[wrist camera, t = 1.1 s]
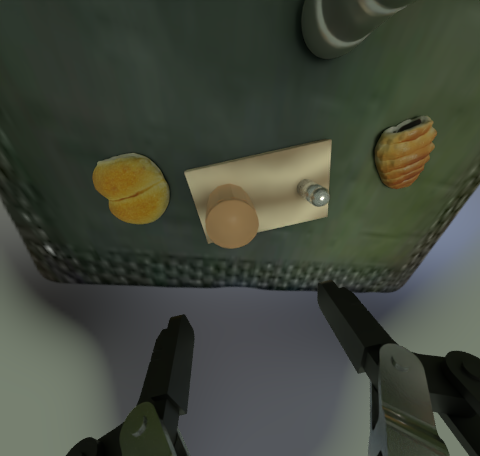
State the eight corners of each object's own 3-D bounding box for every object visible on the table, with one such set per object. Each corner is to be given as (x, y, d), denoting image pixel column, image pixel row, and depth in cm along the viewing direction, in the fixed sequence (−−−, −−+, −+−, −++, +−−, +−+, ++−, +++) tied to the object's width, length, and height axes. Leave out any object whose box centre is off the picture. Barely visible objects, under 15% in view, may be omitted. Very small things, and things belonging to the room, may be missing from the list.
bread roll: (127, 224, 27) (114, 238, 23) (90, 162, 23) (66, 168, 19) (181, 210, 27) (176, 223, 23) (154, 146, 22) (143, 149, 19)
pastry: (415, 175, 29) (441, 181, 25) (373, 194, 29) (393, 202, 26) (418, 111, 24) (451, 108, 21) (369, 135, 25) (392, 136, 22)
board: (186, 170, 24) (184, 172, 23) (325, 139, 24) (331, 139, 23) (208, 238, 29) (208, 243, 28) (322, 212, 30) (327, 216, 28)
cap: (202, 189, 24) (198, 208, 18) (245, 179, 24) (254, 195, 18) (214, 227, 27) (213, 253, 21) (252, 218, 27) (262, 242, 21)
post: (296, 181, 25) (314, 192, 20) (313, 177, 25) (335, 187, 20) (297, 197, 26) (314, 211, 22) (313, 193, 26) (333, 207, 22)
